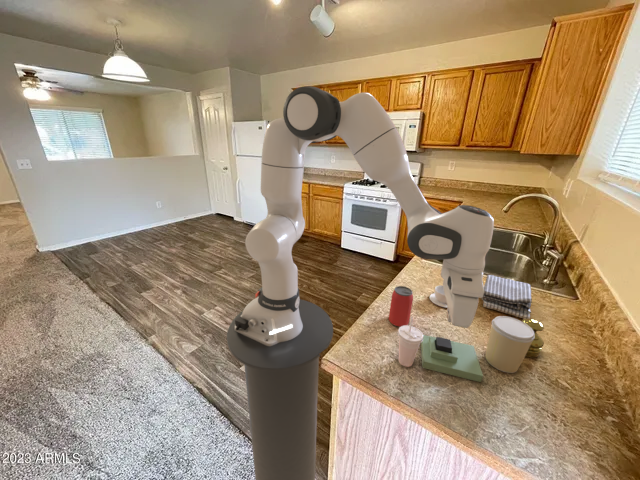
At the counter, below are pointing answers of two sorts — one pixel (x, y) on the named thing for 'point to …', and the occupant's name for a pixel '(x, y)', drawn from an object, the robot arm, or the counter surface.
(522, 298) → the towel
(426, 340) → the green flat stepped block
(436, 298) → the teacup
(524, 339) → the coffee cup
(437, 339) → the key
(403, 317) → the beer can
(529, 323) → the gold stacked stones ornament
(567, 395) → the counter surface
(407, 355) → the smoothie
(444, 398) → the counter surface
